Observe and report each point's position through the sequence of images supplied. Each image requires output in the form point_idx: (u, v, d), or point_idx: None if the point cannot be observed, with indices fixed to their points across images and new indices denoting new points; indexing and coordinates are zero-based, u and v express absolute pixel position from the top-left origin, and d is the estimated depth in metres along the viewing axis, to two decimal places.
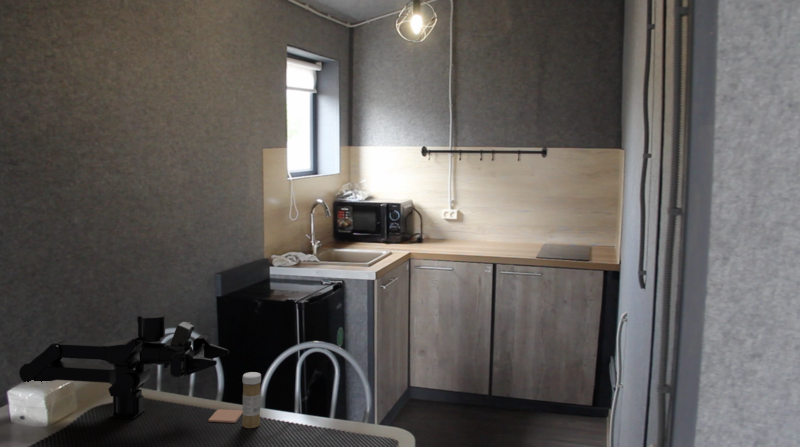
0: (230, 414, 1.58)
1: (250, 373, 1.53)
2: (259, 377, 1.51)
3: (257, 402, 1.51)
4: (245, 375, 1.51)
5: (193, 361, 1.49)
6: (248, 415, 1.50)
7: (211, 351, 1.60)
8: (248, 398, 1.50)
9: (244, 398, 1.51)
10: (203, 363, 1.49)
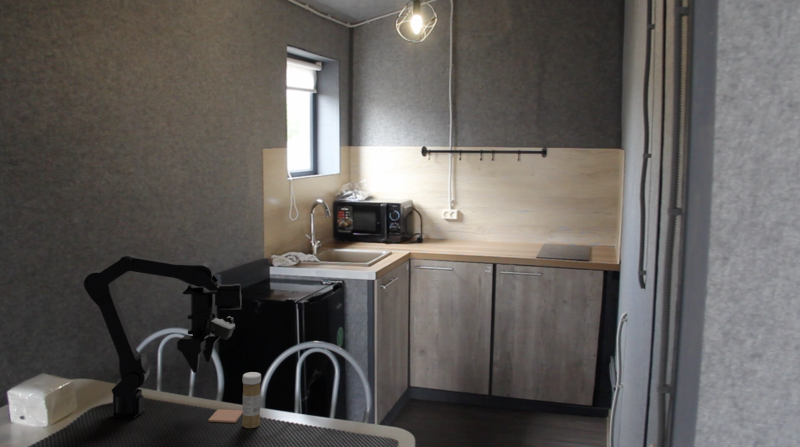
0: (230, 414, 1.58)
1: (250, 373, 1.53)
2: (259, 377, 1.51)
3: (257, 402, 1.51)
4: (245, 375, 1.51)
5: (194, 353, 1.54)
6: (248, 415, 1.50)
7: (208, 343, 1.65)
8: (248, 398, 1.50)
9: (244, 398, 1.51)
10: (193, 362, 1.54)
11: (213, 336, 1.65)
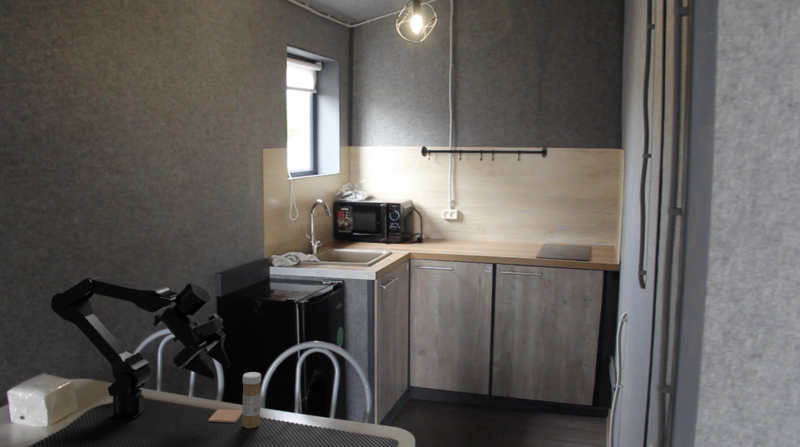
0: (230, 414, 1.58)
1: (250, 373, 1.53)
2: (259, 377, 1.51)
3: (257, 402, 1.51)
4: (245, 375, 1.51)
5: (198, 362, 1.47)
6: (248, 415, 1.50)
7: (217, 352, 1.58)
8: (248, 398, 1.50)
9: (244, 398, 1.51)
10: (204, 370, 1.47)
11: (216, 343, 1.58)
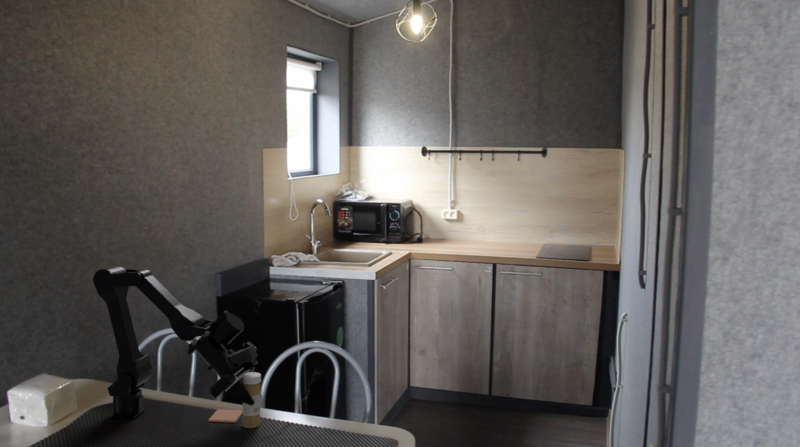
0: (230, 414, 1.58)
1: (250, 373, 1.53)
2: (259, 377, 1.51)
3: (257, 402, 1.51)
4: (245, 375, 1.51)
5: (238, 388, 1.49)
6: (248, 415, 1.50)
7: None
8: None
9: None
10: (243, 397, 1.49)
11: None
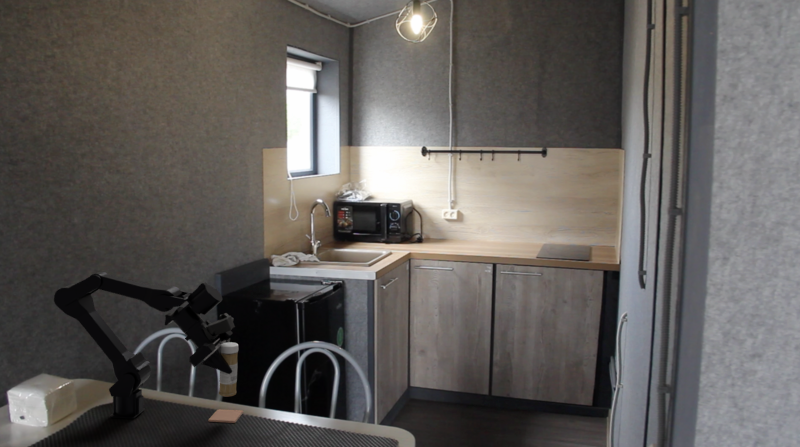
0: (230, 414, 1.58)
1: (227, 343, 1.56)
2: (237, 346, 1.55)
3: (234, 371, 1.55)
4: (223, 345, 1.55)
5: (216, 357, 1.52)
6: (225, 384, 1.54)
7: None
8: None
9: None
10: (221, 365, 1.53)
11: None
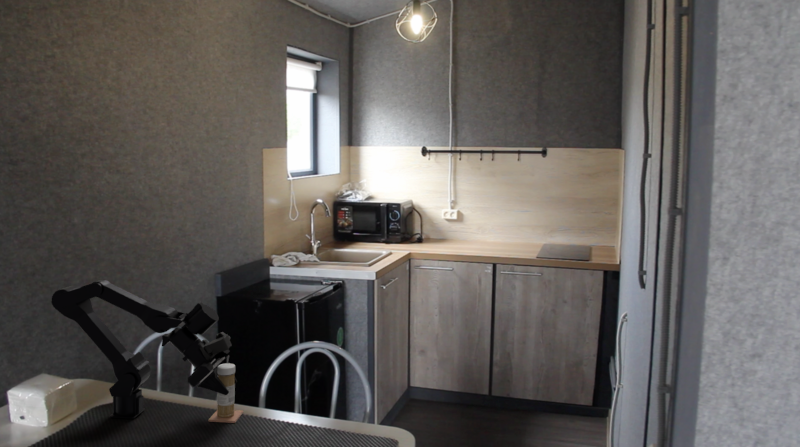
0: None
1: (224, 364, 1.57)
2: (234, 368, 1.56)
3: (232, 392, 1.56)
4: (220, 366, 1.55)
5: (212, 379, 1.51)
6: (223, 405, 1.55)
7: None
8: None
9: None
10: (218, 387, 1.52)
11: (222, 360, 1.61)
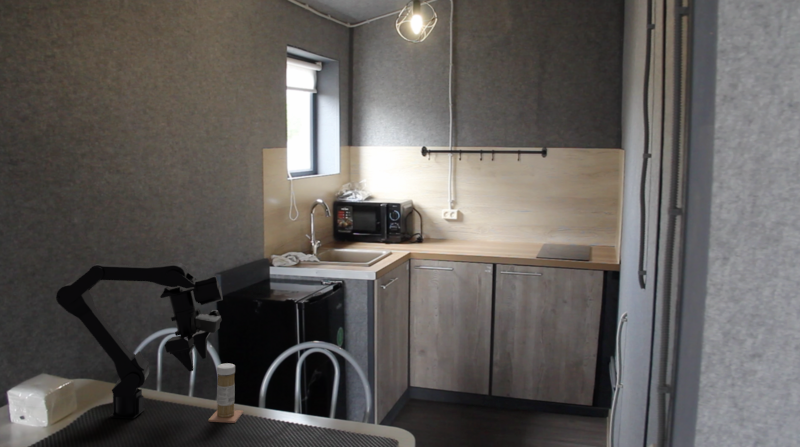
0: None
1: (224, 364, 1.57)
2: (234, 368, 1.56)
3: (232, 392, 1.56)
4: (220, 366, 1.55)
5: (185, 352, 1.54)
6: (223, 405, 1.55)
7: (200, 341, 1.64)
8: (223, 388, 1.55)
9: (219, 389, 1.55)
10: (186, 361, 1.54)
11: (203, 332, 1.64)
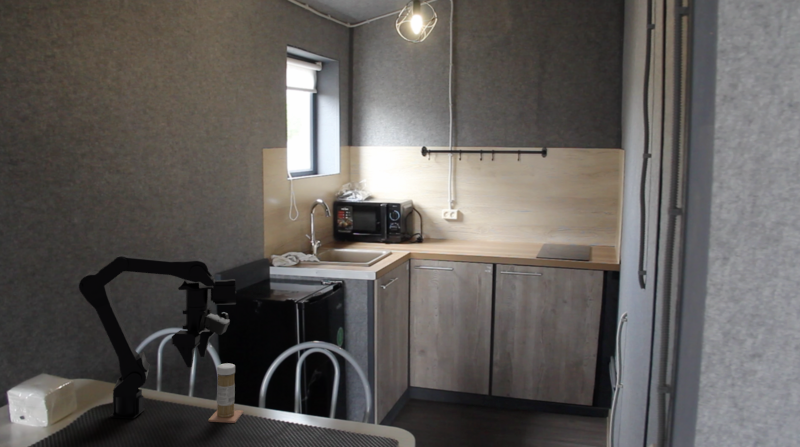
0: None
1: (224, 364, 1.57)
2: (234, 368, 1.56)
3: (232, 392, 1.56)
4: (220, 366, 1.55)
5: (189, 348, 1.55)
6: (223, 405, 1.55)
7: (202, 339, 1.66)
8: (223, 388, 1.55)
9: (219, 389, 1.55)
10: (187, 357, 1.56)
11: (208, 331, 1.66)
